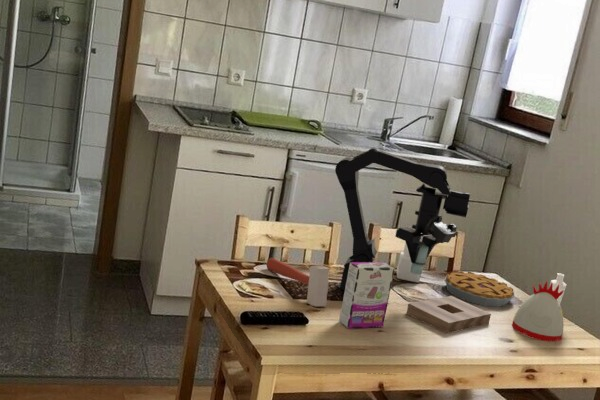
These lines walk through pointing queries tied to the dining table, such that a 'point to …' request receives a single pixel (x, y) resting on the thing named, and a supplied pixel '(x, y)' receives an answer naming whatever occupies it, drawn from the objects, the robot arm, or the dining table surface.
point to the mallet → (306, 280)
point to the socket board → (448, 314)
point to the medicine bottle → (406, 267)
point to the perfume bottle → (561, 285)
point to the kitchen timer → (541, 315)
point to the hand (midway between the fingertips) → (418, 262)
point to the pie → (478, 289)
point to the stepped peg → (420, 260)
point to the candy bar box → (366, 294)
